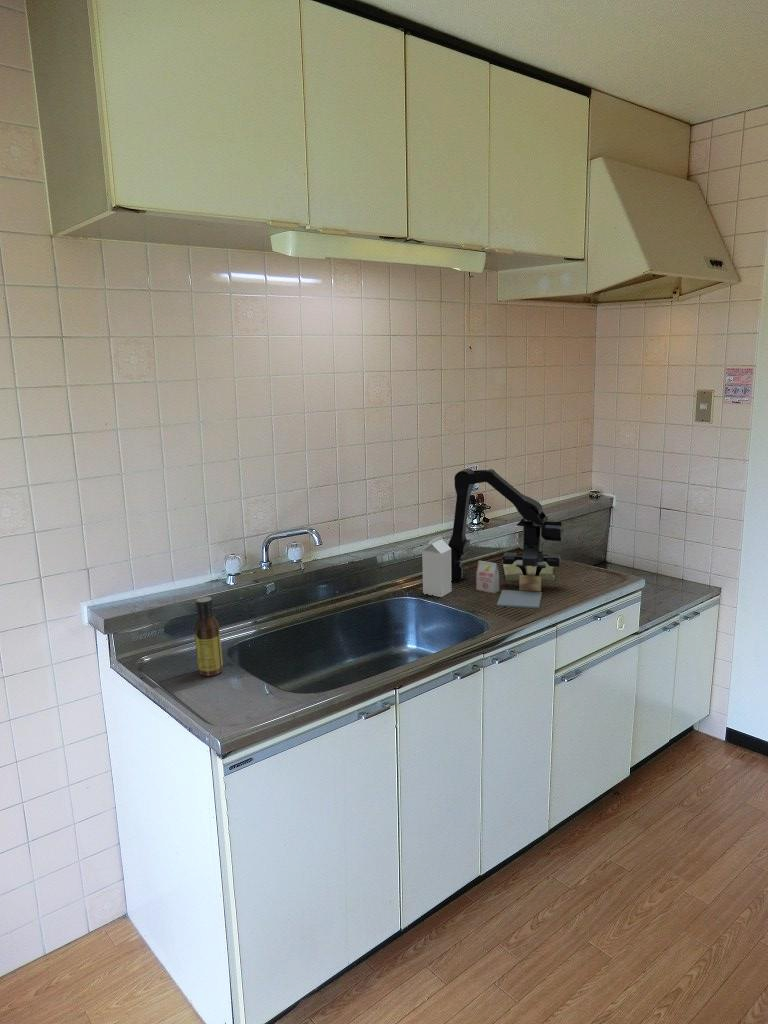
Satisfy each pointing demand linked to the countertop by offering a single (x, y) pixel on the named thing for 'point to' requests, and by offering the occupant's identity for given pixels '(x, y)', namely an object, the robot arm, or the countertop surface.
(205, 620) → the sauce bottle
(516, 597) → the tool mat
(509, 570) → the decorative tile
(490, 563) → the paper bag
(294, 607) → the countertop surface
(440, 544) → the milk carton
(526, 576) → the wooden t-shaped block
